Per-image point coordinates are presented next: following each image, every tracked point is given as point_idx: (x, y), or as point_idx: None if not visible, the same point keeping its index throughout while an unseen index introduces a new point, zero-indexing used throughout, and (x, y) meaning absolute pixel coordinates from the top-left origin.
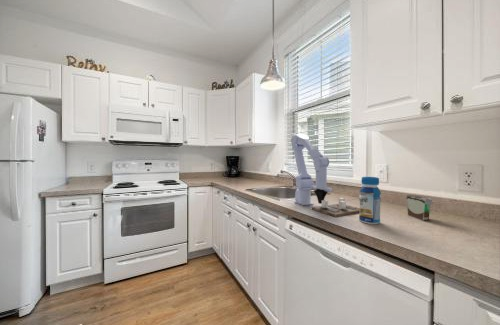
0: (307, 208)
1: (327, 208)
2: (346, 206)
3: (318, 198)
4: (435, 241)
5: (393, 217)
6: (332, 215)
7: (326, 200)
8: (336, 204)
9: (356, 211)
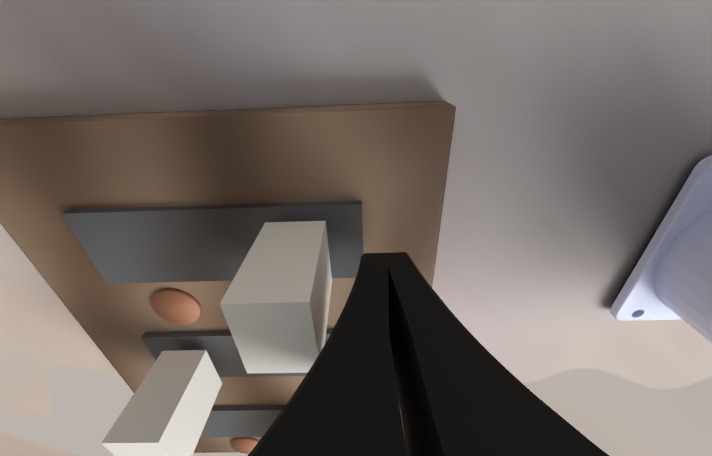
0: (536, 77)
1: None
2: None
3: (408, 313)
4: None
5: (49, 452)
6: (6, 121)
7: (254, 357)
8: None
9: None
